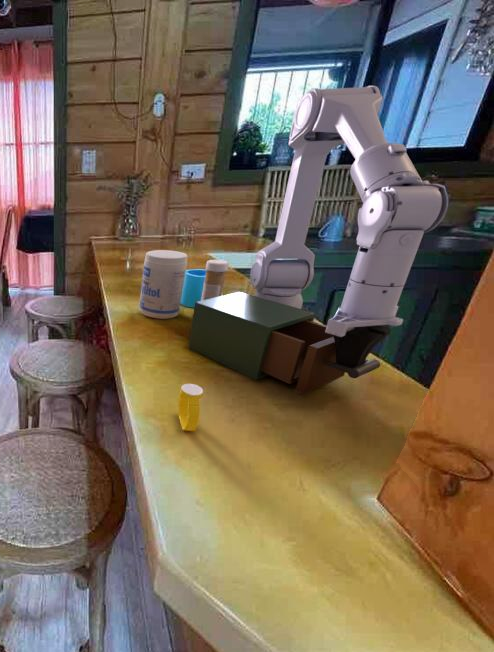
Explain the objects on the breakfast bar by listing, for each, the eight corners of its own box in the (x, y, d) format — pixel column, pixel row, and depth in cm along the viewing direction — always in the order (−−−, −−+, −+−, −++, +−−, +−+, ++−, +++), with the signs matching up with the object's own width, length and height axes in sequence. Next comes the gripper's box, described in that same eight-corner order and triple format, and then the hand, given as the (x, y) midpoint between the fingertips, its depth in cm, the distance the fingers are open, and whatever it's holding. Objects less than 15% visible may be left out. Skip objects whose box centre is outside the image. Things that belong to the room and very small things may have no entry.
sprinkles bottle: (222, 317, 89) (233, 261, 83) (210, 322, 87) (221, 264, 81) (205, 312, 92) (214, 258, 87) (193, 316, 90) (202, 260, 85)
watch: (171, 411, 55) (176, 376, 53) (191, 412, 55) (197, 377, 52) (179, 437, 50) (185, 399, 47) (200, 439, 49) (208, 401, 47)
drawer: (378, 389, 58) (397, 343, 55) (337, 410, 53) (355, 361, 50) (265, 345, 73) (275, 307, 69) (226, 359, 68) (234, 319, 65)
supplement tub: (131, 313, 93) (136, 253, 87) (151, 304, 99) (158, 248, 93) (166, 323, 87) (175, 259, 80) (186, 313, 92) (195, 253, 86)
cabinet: (300, 362, 68) (315, 313, 64) (256, 380, 63) (269, 327, 59) (230, 335, 80) (239, 291, 76) (187, 347, 75) (195, 302, 71)
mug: (214, 309, 94) (220, 277, 91) (180, 307, 96) (184, 276, 93) (209, 295, 105) (214, 266, 101) (178, 293, 107) (182, 265, 103)
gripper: (385, 296, 44) (350, 395, 50) (438, 280, 50) (402, 370, 56) (321, 283, 50) (295, 373, 55) (376, 271, 56) (348, 353, 61)
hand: (345, 370), depth 56 cm, fingers closed, pressing on drawer
